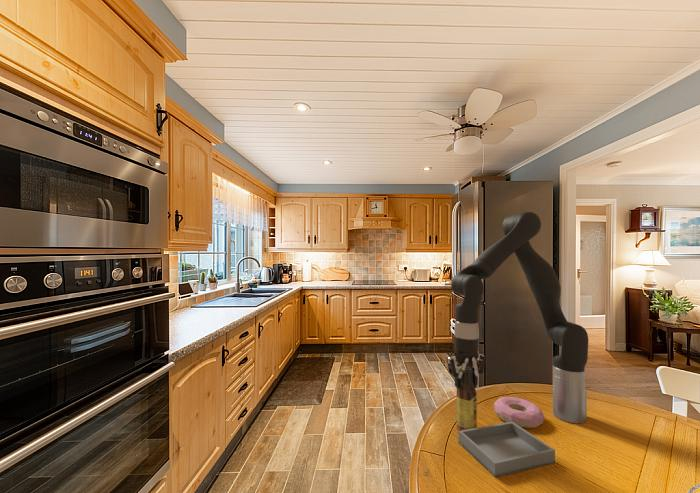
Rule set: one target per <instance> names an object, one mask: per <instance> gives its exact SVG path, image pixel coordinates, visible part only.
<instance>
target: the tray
mask: <svg viewBox="0 0 700 493" xmlns="http://www.w3.org/2000/svg"><path fill="white" fill-rule="evenodd" d="M458 444H459V445H460V446H461V447H463V449H465V451H466V452H467V453H469V455H471V457H473V458H474V459H475V460H476V462H478V463H479V464H480V465H481V466H482V467H484V469H486V470H487V471H488V472H489V473H490V475H491V476H493V477H494V478H499V477H502V476H506V475H507V476H508V475H510V474H511V475H512V474H515V473H520V472H525V471H528V470H532V469H536V468H541V467H545V466H549V465H553V464H556V450H555V449H554V448H553V447H551V446H550V445H549V444H547V443H545V442H543V441H542V440H541V439H539V438H538V437H536V436H535V435H533V434H532V433H531V432H528V430H525V428H521V427H520V426H518V425H517V424H515V423H514V422H500V423H496V424H491V425H490V424H489V425H484V426H479V427H478V426H477V427H476V428H472V429H467V430H461V431H460V430H458Z"/></svg>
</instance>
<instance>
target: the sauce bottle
mask: <svg viewBox="0 0 700 493" xmlns="http://www.w3.org/2000/svg"><path fill="white" fill-rule="evenodd" d="M460 367H461V366H460ZM472 373H473V368H471V367H467V368H465V371H464V372H463V373H462V377H461V378H462V389H461V390H459V389H458V388H456V403H455V404H456V428H457V430H458V431H461V430H467V429H472V428H478V402H477V401H478V398H477V394H478V393H477V390H476V388H475V387H474V384H473V380H472Z"/></svg>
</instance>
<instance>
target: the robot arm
mask: <svg viewBox="0 0 700 493" xmlns="http://www.w3.org/2000/svg"><path fill="white" fill-rule="evenodd" d="M541 227H542V221H541V218H540V217H539V215H538V214H536V213H535V212H533V211H532V212H531V211H523V212H520V213H516V214H513V215H509V216H507V217H505V218H504V220H503V221H502V226H501V228H502V232H503V234H504V236H503V237H502V238H500V239H499V240H498V241H496V242H495V243H493V244H492V245H490V246H489V247H487V248H486V249H485V250H483V251H482V253H480V255H478V256H477V258H476V259H475V260H474V261H473V262H472V263H471V264H468V265H466V267H464V268H462V269H461V270H460V271H459V272H457V273H456V274H455V275H454V276H453V278H452V279H451V283H450V287H451V289H452V291H453V292H454V293H455V294H457V295H460V296H463V299H462V302H459V303H457V304H456V305H455V312H454V314H455V319H454V320H455V321H454V337H453V340H454V342H453V343H454V344H453V345H454V348H453V349H454V351H455V352H454V353H453V356H446V358H445V359H446V365H447V369H448V373H449V375H451V376H452V377H454V387H455V388H456V389H457V388H458V389H459V390H461V389H462V378H461V377H462V373H463V372H464V371H465V368H467V367H471V368H473V373H472V380H473V384H474V387H475V389H476V388H477V386H478V382H479V381H478V379H479V375H483V374H484V370H485V365H486V361H487V360H486V359H487V356H486V355H484V354H482V353H478V352H479V350H480V328H479V308H480V305H481V303H482V299H483V295H484V289H485V288H484V282H483V280H486V279H489V278H490V277H491V276H492V275H493V274H494V273H495V272H496V271H497V270H498V268H499V267H501V265H502V264H503V263H504V262H505V261H506V260H508V258H509V257H510V256H511V255H513V254H515V256H516V258H517V260H518V263H519V265H520V266H521V269H522V271H523V273H524V276H525V279H526V281H527V284H528V287H529V288H530V291H531V292H532V294H533V297H534V299H535V302H536V305H537V306H538V309H539V311H540V313H541V317H542V320H543V323H544V327H545V330H546V334H547V336H548V338H549V339H550V341H551V342H553V343H554V344H556V345H557V346H560V348H561V349H560V355H555V356H554V357H553V358H552V414H553V415H554V416H555V417H556V418H558V419H559V420H561V421H564V422H567V423H571V424H583V423H586V422H585V421H586V420H587V418H588V414H587V412H588V410H587V408H588V406H587V405H588V403H587V401H588V400H587V398H588V396H587V391H586V390H585V389H586V388H585V386H586V385H585V384H586V382H585V380H586V379H585V377H586V376H585V371H586V370H585V368H586V367H585V366H586V365H587V363H588V358H589V357H588V356H589V336H588V332H587V330H586V329H585V328H584V327H583V326H582V325H580V324H577V323H574V322H571V321H570V322H569V321H568V320H567V318H566V317H565V314H564V313H563V309H562V307H561V304H560V301H561V300H560V299H561V293H562V292H561V291H562V289H561V288H562V287H561V283H560V281H559V278H558V276H557V273H556V271H555V269H554V268H553V266H552V265H551V264H550V263H549V262H548V261H547V260H546V259H545V258H544V257H543V256H541V255H540V254H539V253H538V252H537V251H536V249H535V248H533V247H532V244H531V242H530V240H531V239H533V238H534V237H536V235H538V234H539V233H540V230H541ZM460 366H461V367H460Z"/></svg>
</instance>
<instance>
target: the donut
mask: <svg viewBox="0 0 700 493" xmlns="http://www.w3.org/2000/svg"><path fill="white" fill-rule="evenodd" d="M493 407H494V413H495V414H496V415H497V417H499V418H500V419H501V421H502V422H503V423H506V422H514V423H515V424H517V425H518V426H520V427H521V428H523V429H534V428H537V427H539V426H541V425H542V424H544V420H545V415H544V412H543V411H542V409H541V408H540V407H538V406H537V405H536V403H533V402H531V401H529V400H526V399H525V398H519V397H514V396H504V397H503V396H501V397H500V398H498V399H497V400H496V401H495V402H494V403H493Z"/></svg>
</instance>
